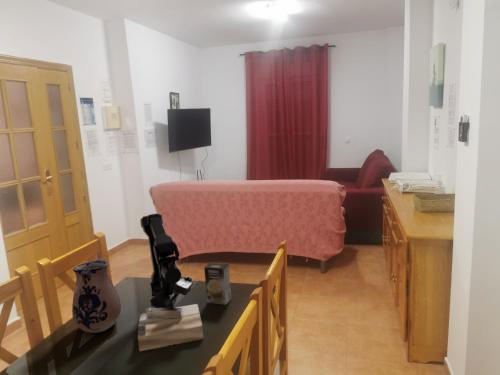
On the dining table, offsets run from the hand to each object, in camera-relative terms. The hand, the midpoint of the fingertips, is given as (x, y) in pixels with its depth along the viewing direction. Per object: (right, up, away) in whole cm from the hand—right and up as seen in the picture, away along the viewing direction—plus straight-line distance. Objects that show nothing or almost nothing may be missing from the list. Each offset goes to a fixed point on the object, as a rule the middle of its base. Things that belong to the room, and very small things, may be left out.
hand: (172, 311), depth 145 cm
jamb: (-1, -6, +2) cm, 7 cm away
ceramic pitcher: (-30, -8, +7) cm, 32 cm away
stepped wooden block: (+1, -7, -7) cm, 10 cm away
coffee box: (+16, -2, +20) cm, 26 cm away
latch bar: (-3, -1, -2) cm, 3 cm away
